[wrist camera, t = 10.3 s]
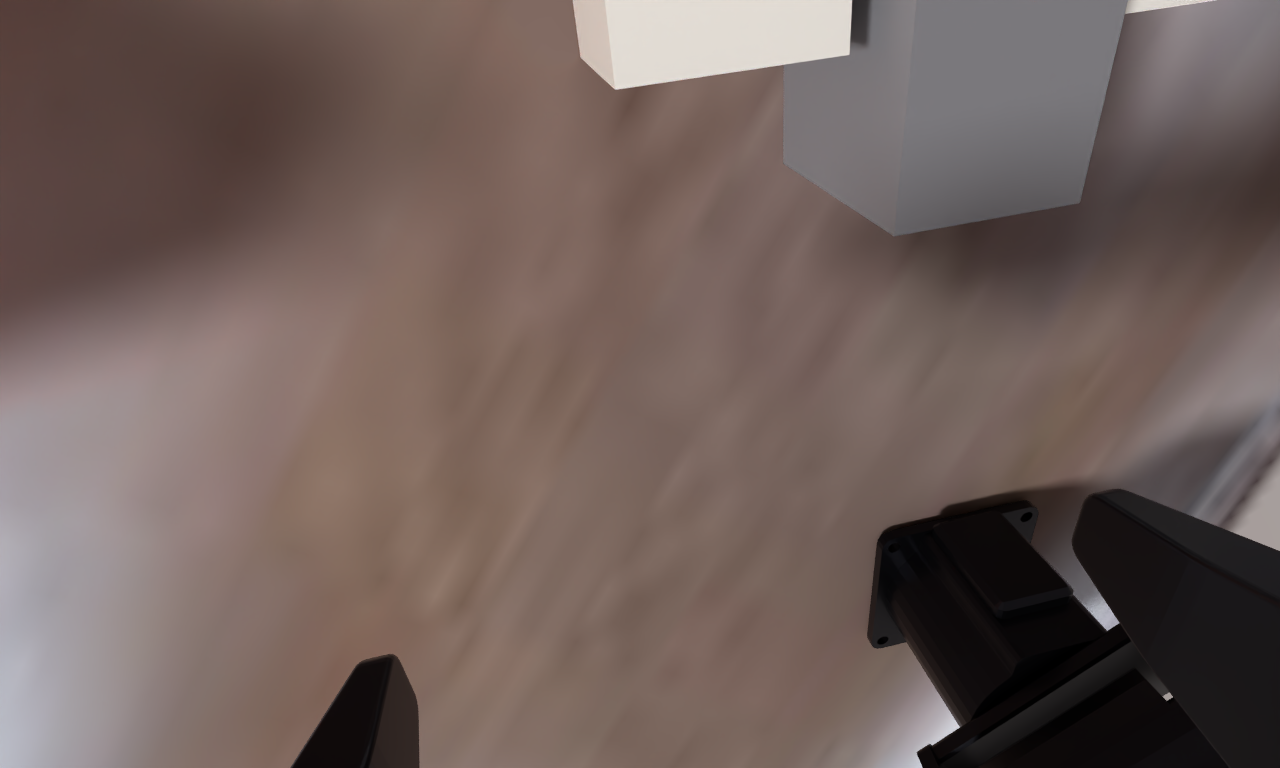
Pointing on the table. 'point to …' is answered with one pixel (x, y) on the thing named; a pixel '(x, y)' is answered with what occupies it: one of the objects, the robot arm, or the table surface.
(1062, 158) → the plug
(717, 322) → the table surface
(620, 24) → the socket
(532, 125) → the table surface
